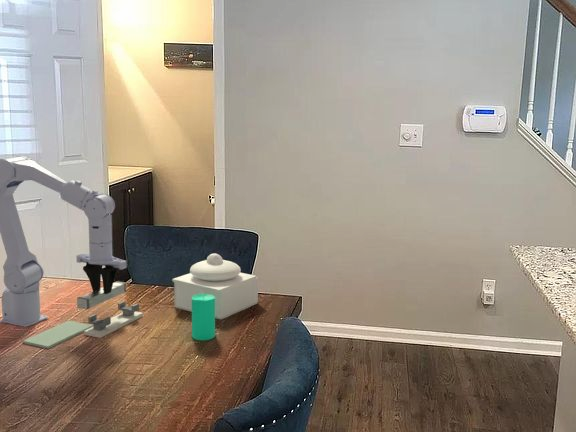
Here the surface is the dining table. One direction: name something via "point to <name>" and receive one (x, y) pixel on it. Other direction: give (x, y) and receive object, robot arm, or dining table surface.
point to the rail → (100, 296)
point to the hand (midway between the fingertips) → (102, 291)
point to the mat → (57, 334)
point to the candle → (203, 316)
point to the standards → (113, 320)
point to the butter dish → (217, 286)
